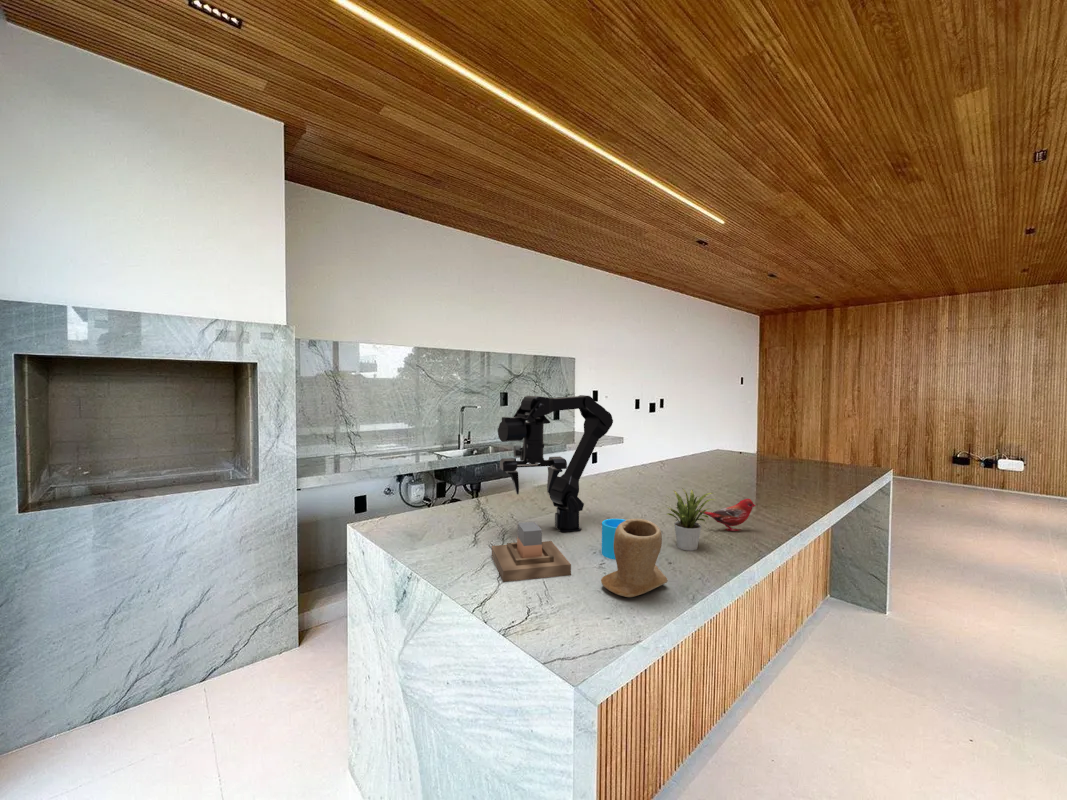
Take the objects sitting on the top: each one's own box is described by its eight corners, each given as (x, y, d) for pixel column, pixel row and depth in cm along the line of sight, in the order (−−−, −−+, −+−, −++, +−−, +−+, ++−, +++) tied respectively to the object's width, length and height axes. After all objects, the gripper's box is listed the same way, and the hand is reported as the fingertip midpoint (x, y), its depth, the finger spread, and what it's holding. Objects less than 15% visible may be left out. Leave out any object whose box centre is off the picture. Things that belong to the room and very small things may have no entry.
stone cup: (633, 609, 92) (635, 534, 91) (593, 587, 101) (594, 519, 101) (682, 590, 100) (684, 522, 100) (641, 571, 110) (642, 509, 109)
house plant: (728, 547, 126) (730, 488, 125) (708, 562, 116) (709, 497, 115) (679, 535, 136) (680, 480, 135) (656, 547, 126) (657, 488, 125)
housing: (541, 559, 110) (542, 530, 110) (523, 560, 109) (523, 531, 109) (534, 548, 117) (534, 521, 117) (517, 550, 116) (517, 522, 116)
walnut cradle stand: (551, 550, 123) (551, 536, 123) (570, 574, 108) (571, 559, 107) (491, 555, 119) (491, 541, 119) (503, 581, 104) (503, 565, 103)
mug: (613, 562, 115) (614, 530, 115) (595, 551, 123) (595, 520, 122) (651, 554, 121) (652, 523, 120) (631, 544, 128) (632, 515, 128)
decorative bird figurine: (757, 533, 138) (758, 500, 138) (697, 532, 139) (698, 499, 138) (753, 529, 141) (754, 497, 141) (694, 529, 141) (695, 496, 141)
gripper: (556, 435, 143) (555, 485, 144) (496, 436, 138) (496, 488, 139) (567, 440, 132) (567, 494, 133) (503, 441, 128) (503, 497, 128)
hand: (533, 493), depth 134 cm, fingers open, 9 cm apart
